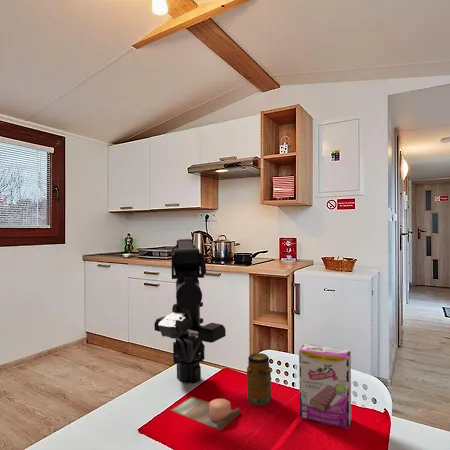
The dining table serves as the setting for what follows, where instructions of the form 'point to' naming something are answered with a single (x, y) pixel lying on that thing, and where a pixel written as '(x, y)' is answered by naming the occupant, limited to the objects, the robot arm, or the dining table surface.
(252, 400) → the condiment
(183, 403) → the board
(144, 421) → the dining table surface
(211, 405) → the tan round cylinder
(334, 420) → the candy bar box
